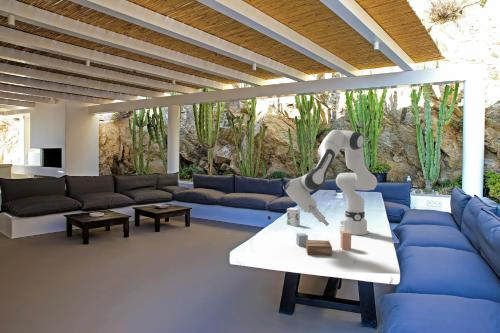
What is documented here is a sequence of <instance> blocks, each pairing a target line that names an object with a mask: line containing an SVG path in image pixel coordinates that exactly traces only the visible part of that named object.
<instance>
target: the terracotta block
mask: <svg viewBox="0 0 500 333" xmlns="http://www.w3.org/2000/svg"><path fill="white" fill-rule="evenodd" d="M341 248H342V249H341ZM340 249H341V250H342V251H351V250H352V234H351V232H349V231H341V232H340Z"/></svg>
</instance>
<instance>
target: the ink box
mask: <svg viewBox="0 0 500 333" xmlns="http://www.w3.org/2000/svg"><path fill="white" fill-rule="evenodd" d="M300 209H301V208H296V207H289V208H286V225H289V226H293V227H298V226H301V224H300V223H301V218H300V217H301V216H300V215H301V212H300V211H301V210H300Z"/></svg>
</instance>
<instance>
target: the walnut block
mask: <svg viewBox="0 0 500 333" xmlns="http://www.w3.org/2000/svg"><path fill="white" fill-rule="evenodd" d="M305 252H306V253H307V254H306V255H307V256H323V257H325V256H326V257H332V255H333V246H332V243H331V242H330V241H329V240H318V239H308V240H306V246H305Z"/></svg>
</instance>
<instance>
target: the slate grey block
mask: <svg viewBox="0 0 500 333" xmlns="http://www.w3.org/2000/svg"><path fill="white" fill-rule="evenodd" d="M306 240H309V235H308V234H307V233H303V232H302V233H301V232H300V233H298V232H297V233H296V242H295V244H296V245H297V246H298V247H306Z"/></svg>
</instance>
